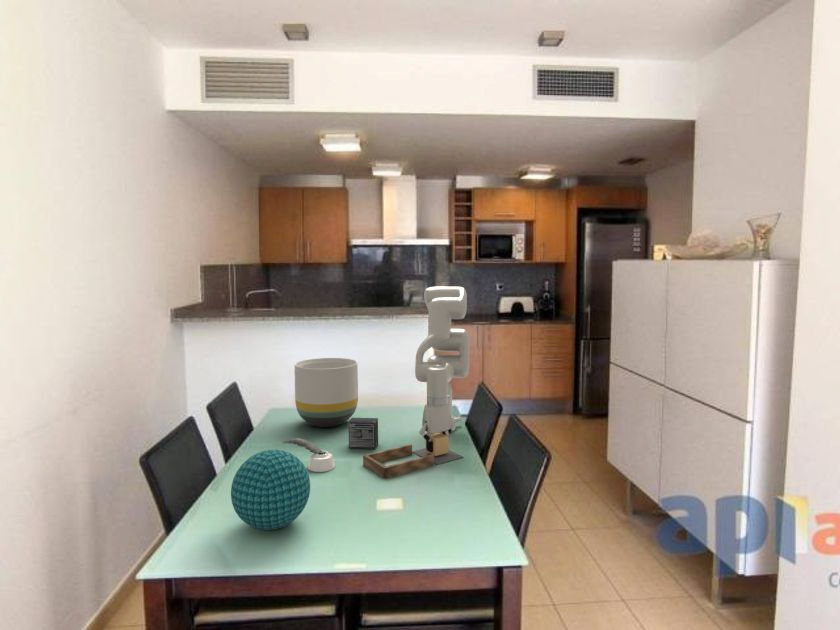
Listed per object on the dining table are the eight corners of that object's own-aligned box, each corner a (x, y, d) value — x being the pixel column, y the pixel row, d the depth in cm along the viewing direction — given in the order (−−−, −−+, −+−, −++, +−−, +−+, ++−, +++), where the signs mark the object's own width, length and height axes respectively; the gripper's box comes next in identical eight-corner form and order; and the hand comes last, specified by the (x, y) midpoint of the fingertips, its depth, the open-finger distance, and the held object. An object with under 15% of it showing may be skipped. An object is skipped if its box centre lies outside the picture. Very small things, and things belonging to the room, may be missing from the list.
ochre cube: (438, 447, 194) (438, 432, 194) (448, 452, 189) (448, 436, 189) (425, 451, 191) (425, 435, 190) (435, 456, 186) (435, 439, 185)
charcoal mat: (437, 446, 200) (437, 445, 199) (463, 457, 187) (463, 456, 187) (412, 452, 193) (412, 451, 193) (436, 464, 180) (436, 463, 180)
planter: (308, 414, 243) (307, 357, 240) (364, 416, 239) (364, 358, 237) (285, 432, 216) (284, 368, 214) (348, 435, 213) (348, 369, 210)
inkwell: (333, 472, 174) (332, 443, 173) (279, 472, 174) (278, 443, 173) (337, 462, 183) (336, 434, 183) (285, 462, 183) (285, 434, 182)
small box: (379, 443, 202) (378, 417, 201) (375, 449, 196) (375, 422, 195) (352, 443, 203) (351, 416, 202) (348, 448, 197) (347, 421, 196)
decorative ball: (293, 548, 127) (291, 468, 125) (216, 541, 130) (213, 463, 128) (321, 510, 147) (320, 441, 145) (254, 505, 150) (252, 437, 148)
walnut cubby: (410, 453, 192) (410, 444, 191) (433, 465, 180) (433, 455, 180) (363, 465, 180) (363, 455, 180) (385, 478, 169) (384, 468, 168)
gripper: (449, 395, 196) (449, 441, 198) (411, 402, 186) (411, 451, 188) (462, 399, 190) (462, 447, 192) (423, 406, 180) (423, 457, 182)
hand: (437, 448), depth 190 cm, fingers closed on ochre cube, 6 cm apart
